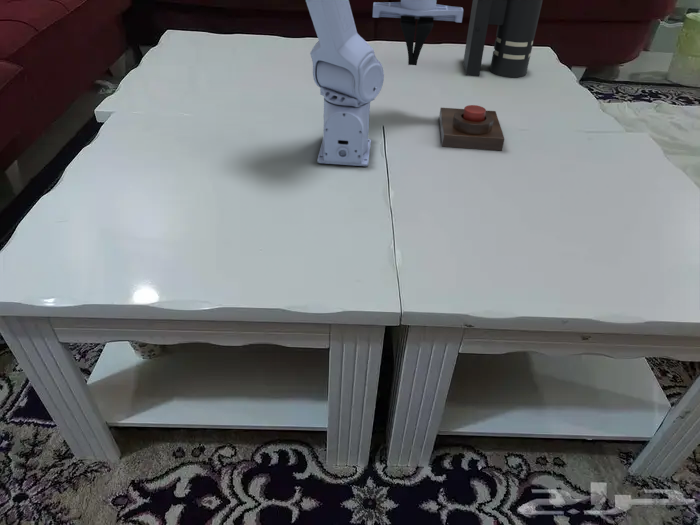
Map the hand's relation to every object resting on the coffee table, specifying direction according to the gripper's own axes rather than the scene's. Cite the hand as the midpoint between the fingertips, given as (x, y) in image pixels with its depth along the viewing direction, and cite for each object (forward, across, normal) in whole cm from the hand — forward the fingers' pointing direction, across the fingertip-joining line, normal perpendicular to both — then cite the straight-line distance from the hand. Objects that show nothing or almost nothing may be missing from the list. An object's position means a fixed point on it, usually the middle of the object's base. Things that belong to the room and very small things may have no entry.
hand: (412, 63), depth 98 cm
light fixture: (+11, -20, -32) cm, 39 cm away
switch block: (+10, -11, +4) cm, 16 cm away
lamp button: (+7, -11, +6) cm, 14 cm away
